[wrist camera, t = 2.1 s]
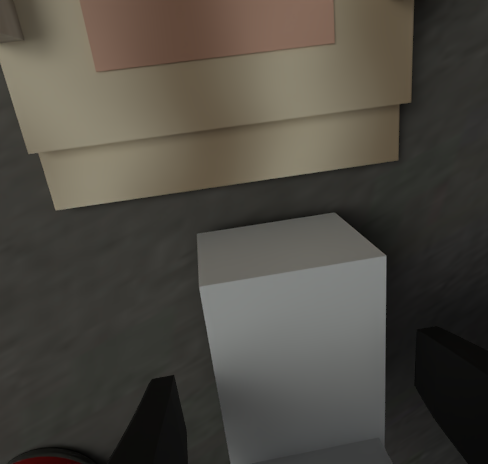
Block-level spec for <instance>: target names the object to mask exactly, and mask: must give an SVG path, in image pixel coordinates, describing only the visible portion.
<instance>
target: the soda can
mask: <svg viewBox="0 0 488 464" xmlns="http://www.w3.org/2000/svg"><path fill="white" fill-rule="evenodd" d="M8 464H96V463H95V462H93V461H92V460H91V459H89V458H88V457H86V456H84V455H82V454H80V453H77V452H75V451H71V450H67V449H60V448H44V449H37V450H33V451H29V452H26V453H24V454H21V455H19V456H17V457H16V458H14V459H13V460H11V461H10V462H9V463H8Z"/></svg>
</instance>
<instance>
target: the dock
mask: <svg viewBox="0 0 488 464" xmlns="http://www.w3.org/2000/svg"><path fill="white" fill-rule="evenodd" d="M413 18H414V0H0V63H1V67H2V70H3V73H4V76H5V79H6V83H7V86H8V89H9V92H10V96H11V99H12V102H13V105H14V109H15V112H16V115H17V118H18V121H19V125H20V128H21V131H22V134H23V138H24V141H25V144H26V147H27V151H28V154H32V153H39V156H40V160H41V163H42V166H43V170H44V173H45V176H46V180H47V183H48V186H49V190H50V193H51V196H52V200H53V203H54V206H55V210H62V209H69V208H76V207H83V206H90V205H97V204H103V203H110V202H117V201H124V200H131V199H137V198H144V197H151V196H158V195H165V194H172V193H178V192H185V191H192V190H199V189H206V188H213V187H219V186H226V185H233V184H240V183H247V182H254V181H260V180H267V179H274V178H281V177H288V176H295V175H301V174H308V173H315V172H322V171H329V170H335V169H342V168H349V167H356V166H363V165H370V164H376V163H383V162H390V161H397V160H398V153H399V104H403V103H411V87H412V52H413Z"/></svg>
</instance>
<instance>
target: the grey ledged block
mask: <svg viewBox="0 0 488 464" xmlns="http://www.w3.org/2000/svg"><path fill="white" fill-rule="evenodd" d="M197 249H198V274H199V289H200V295H201V301H202V306H203V312H204V317H205V323H206V328H207V334H208V340H209V345H210V351H211V356H212V362H213V368H214V373H215V379H216V384H217V390H218V396H219V401H220V407H221V412H222V418H223V423H224V429H225V435H226V440H227V446H228V451H229V457H230V463H231V464H393V463H392V461H391V459H390V457H389V456H388V454H387V452H386V450H385V349H386V255H385V254H384V253H382V252H381V251H380V250H379V249H378V248H377V247H375V246H374V245H373V244H372V243H371V242H369V241H368V240H367V239H366V238H365V237H363V236H362V235H361V234H360V233H359V232H357V231H356V230H355V229H354V228H353V227H352V226H350V225H349V224H348V223H347V222H346V221H344V220H343V219H342V218H341V217H340V216H338V215H337V214H336V213H335V212H334V213H328V214H322V215H315V216H309V217H302V218H296V219H289V220H283V221H276V222H270V223H264V224H257V225H251V226H244V227H238V228H231V229H225V230H218V231H212V232H206V233H199V234H197Z"/></svg>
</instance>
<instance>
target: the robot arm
mask: <svg viewBox="0 0 488 464" xmlns="http://www.w3.org/2000/svg"><path fill="white" fill-rule="evenodd" d="M414 385H415V387H416V389H417V390H418V392H419V394H420V396H421V397H422V399H423V401H424V403H425V404H426V406H427V408H428V409H429V411H430V413H431V414H432V416H433V418H434V419H435V420H436V422H437V423H438V425H439V426H440V427H441V429H442V430H443V431H444V433H445V434H446V435H447V437H448V438H449V439H450V441H451V442H452V443H453V445H454V446H455V447H456V449H457V450H458V451H459V452H460V454H461V455H462V456H463V458H464V459H465V460H466V462H467V463H468V464H488V351H487V350H485V349H483V348H481V347H479V346H477V345H475V344H473V343H471V342H469V341H467V340H465V339H463V338H461V337H459V336H457V335H455V334H452V333H450V332H448V331H446V330H444V329H442V328H439V327H437V326H435V327H429V328H424V329H418V330H417V338H416V361H415V384H414ZM106 464H188V456H187V432H186V426H185V422H184V417H183V413H182V408H181V404H180V399H179V395H178V390H177V386H176V382H175V377H174V375H172V376H166V377H161V378H156V379H152V380H151V381H150V383H149V385H148V387H147V389H146V391H145V393H144V396H143V398H142V400H141V402H140V404H139V406H138V408H137V410H136V412H135V414H134V416H133V418H132V420H131V422H130V423H129V425H128V427H127V429H126V431H125V433H124V434H123V436H122V438H121V440H120V442H119V443H118V445H117V447H116V449H115V450H114V452H113V454H112V455H111V457H110V458H109V460H108V462H107V463H106Z"/></svg>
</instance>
